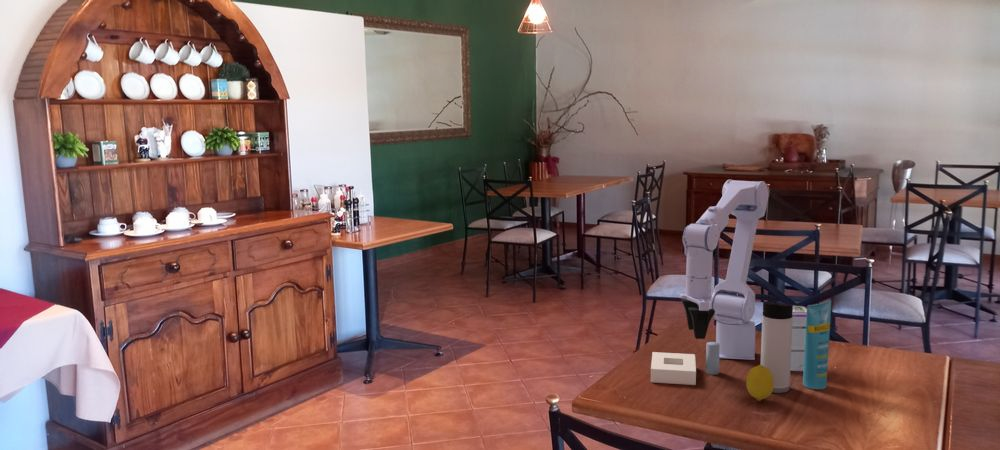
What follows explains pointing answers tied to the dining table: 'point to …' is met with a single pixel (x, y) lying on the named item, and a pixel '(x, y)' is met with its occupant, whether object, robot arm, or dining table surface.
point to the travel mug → (777, 343)
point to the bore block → (673, 368)
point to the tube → (817, 345)
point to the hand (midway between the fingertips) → (696, 333)
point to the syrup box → (798, 338)
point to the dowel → (712, 358)
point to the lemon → (759, 382)
